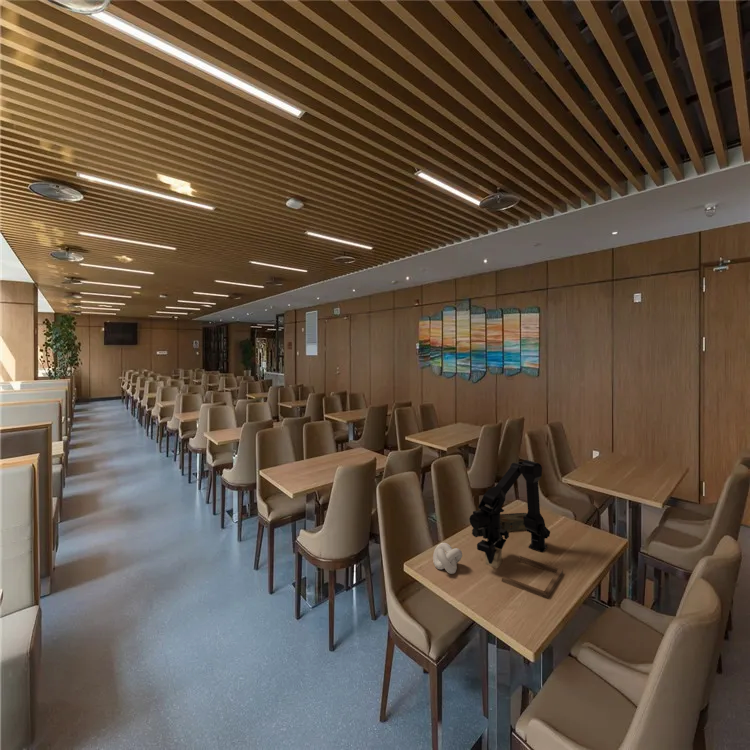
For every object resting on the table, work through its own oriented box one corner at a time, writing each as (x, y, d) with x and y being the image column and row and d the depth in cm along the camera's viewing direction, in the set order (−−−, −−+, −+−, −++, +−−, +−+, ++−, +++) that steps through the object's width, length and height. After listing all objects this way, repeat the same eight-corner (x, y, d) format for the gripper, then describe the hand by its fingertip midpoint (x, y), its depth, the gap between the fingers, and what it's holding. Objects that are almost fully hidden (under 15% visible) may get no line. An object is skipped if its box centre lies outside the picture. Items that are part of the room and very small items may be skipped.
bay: (520, 559, 156) (520, 556, 156) (562, 573, 145) (562, 569, 145) (501, 581, 141) (501, 577, 141) (547, 598, 130) (547, 594, 130)
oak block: (490, 559, 157) (490, 545, 157) (501, 563, 153) (501, 549, 153) (485, 564, 153) (485, 550, 153) (497, 568, 150) (496, 554, 150)
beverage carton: (534, 530, 183) (534, 517, 182) (497, 533, 180) (497, 520, 180) (525, 523, 191) (525, 510, 190) (490, 526, 188) (490, 513, 188)
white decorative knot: (425, 568, 151) (425, 547, 151) (442, 557, 159) (442, 536, 159) (449, 579, 143) (448, 557, 143) (465, 567, 151) (465, 545, 151)
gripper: (484, 511, 165) (485, 545, 166) (464, 525, 151) (465, 563, 151) (509, 517, 158) (509, 553, 158) (490, 533, 144) (491, 572, 144)
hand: (493, 560), depth 153 cm, fingers open, 6 cm apart
